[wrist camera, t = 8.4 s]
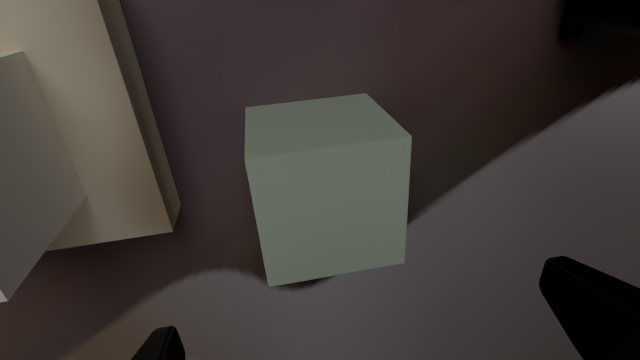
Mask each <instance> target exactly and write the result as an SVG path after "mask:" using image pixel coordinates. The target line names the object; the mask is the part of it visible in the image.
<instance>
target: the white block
mask: <svg viewBox="0 0 640 360" xmlns="http://www.w3.org/2000/svg"><path fill="white" fill-rule="evenodd" d="M86 196H87V195H86V193H85V190H84V188H83V186H82V184H81V181H80V179H79V177H78V175H77V172H76V170H75V168H74V166H73V163H72V161H71V159H70V157H69V154H68V152H67V150H66V148H65V145H64V143H63V141H62V139H61V136H60V134H59V132H58V130H57V127H56V125H55V123H54V120H53V118H52V116H51V114H50V111H49V109H48V107H47V105H46V102H45V100H44V98H43V96H42V93H41V91H40V89H39V87H38V84H37V82H36V80H35V78H34V75H33V73H32V71H31V69H30V66H29V64H28V62H27V60H26V57H25V55H24V53H23V51H14V52H4V53H0V302H5V301H8V300H9V299H10V298H11V296H12V295H13V294H14V292H15V291H16V290H17V288H18V287H19V286H20V284H21V283H22V282H23V280H24V279H25V278H26V276H27V275H28V274H29V272H30V271H31V270H32V268H33V267H34V266H35V264H36V263H37V262H38V260H39V259H40V258H41V256H42V255H43V254H44V252H45V251H46V250H47V248H48V247H49V246H50V244H51V243H52V242H53V240H54V239H55V238H56V236H57V235H58V234H59V232H60V231H61V230H62V228H63V227H64V226H65V224H66V223H67V222H68V220H69V219H70V218H71V216H72V215H73V214H74V212H75V211H76V210H77V208H78V207H79V206H80V204H81V203H82V202H83V200H84V199H85V198H86Z"/></svg>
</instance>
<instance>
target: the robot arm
mask: <svg viewBox="0 0 640 360" xmlns="http://www.w3.org/2000/svg"><path fill="white" fill-rule="evenodd" d="M576 26H577V30H576V32H575V33H574V34H573V30H574V28H575V27H576ZM639 36H640V0H567V4H566V8H565V13H564V17H563V21H562V26H561V30H560V37H561V39H562V40H563V41H564V42H569V43H584V42H594V41H603V40H612V39H621V38H630V37H639ZM539 286H540V290H541V292H542V294H543V296H544V297H545V299H546V301H547V302H548V304H549V306H550V307H551V309H552V311H553V312H554V314H555V316H556V317H557V319H558V321H559V322H560V324H561V325H562V327H563V329H564V330H565V332H566V334H567V335H568V337H569V339H570V340H571V342H572V343H573V345H574V346H575V348H576V350H577V351H578V352H579V354H580V355H581V356H582V358H583V359H584V360H640V288H638V287H635V286H633V285H630V284H628V283H626V282H624V281H621V280H619V279H617V278H615V277H612V276H610V275H608V274H605V273H603V272H601V271H598V270H596V269H594V268H592V267H589V266H587V265H585V264H582V263H580V262H578V261H575V260H573V259H570V258H568V257H565V256H560V257H553V258H549V259H547V260H546V262H545V264H544V268H543V271H542V274H541V278H540V281H539ZM131 360H185V351H184V347H183V344H182V342H181V339H180V337H179V334H178V331H177V329H176V328H175V327H174V326H168V327H163V328H158V329H155V330H154V331H153V332H152V333H151V335H150V336H149V337H148V339H147V340H146V341H145V343H144V344H143V345H142V346H141V347H140V349H139V350H138V351H137V353H136V354H135V355H134V357H133V358H132V359H131Z"/></svg>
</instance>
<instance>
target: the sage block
mask: <svg viewBox="0 0 640 360" xmlns="http://www.w3.org/2000/svg"><path fill="white" fill-rule="evenodd" d="M411 142H412V136H411V135H410V134H409V133H408V132H407V131H405V130H404V129H403V128H402V127H401V126H400V125H399V124H398V123H397V122H396V121H395V120H394V119H393V118H392V117H391V116H390V115H389V114H387V113H386V112H385V111H384V110H383V109H382V108H381V107H380V106H379V105H378V104H377V103H376V102H375V101H374V100H373V99H372V98H371V97H369V96H368V95H367V94H366V93H365V94H357V95H348V96H340V97H332V98H323V99H315V100H306V101H298V102H289V103H281V104H273V105H264V106H256V107H247V108H246V112H245V164H246V169H247V175H248V180H249V185H250V191H251V196H252V201H253V207H254V212H255V217H256V223H257V228H258V233H259V239H260V244H261V249H262V255H263V260H264V265H265V271H266V276H267V281H268V287H272V286H277V285H283V284H289V283H294V282H300V281H306V280H311V279H317V278H323V277H328V276H334V275H340V274H345V273H350V272H357V271H362V270H368V269H374V268H379V267H385V266H391V265H396V264H402V263H405V248H406V230H407V212H408V195H409V177H410V159H411Z"/></svg>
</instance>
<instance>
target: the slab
mask: <svg viewBox="0 0 640 360" xmlns="http://www.w3.org/2000/svg"><path fill="white" fill-rule="evenodd" d="M14 51H23V53H24V55H25V57H26V60H27V62H28V64H29V66H30V69H31V71H32V73H33V75H34V78H35V80H36V82H37V84H38V87H39V89H40V91H41V93H42V96H43V98H44V100H45V102H46V105H47V107H48V109H49V111H50V114H51V116H52V118H53V120H54V123H55V125H56V127H57V130H58V132H59V134H60V136H61V139H62V141H63V143H64V145H65V148H66V150H67V152H68V154H69V157H70V159H71V161H72V163H73V166H74V168H75V170H76V172H77V175H78V177H79V179H80V181H81V184H82V186H83V188H84V190H85V193H86V195H87V196H86V198H85V199H84V200H83V202H82V203H81V204H80V206H79V207H78V208H77V210H76V211H75V212H74V214H73V215H72V216H71V218H70V219H69V220H68V222H67V223H66V224H65V226H64V227H63V228H62V230H61V231H60V232H59V234H58V235H57V236H56V238H55V239H54V240H53V242H52V243H51V244H50V246H49V247H48V248H47V250H46V251H51V250H57V249H64V248H70V247H77V246H83V245H90V244H96V243H103V242H109V241H116V240H122V239H129V238H135V237H142V236H148V235H155V234H161V233H168V232H173V230H174V227H175V223H176V220H177V217H178V213H179V210H180V207H181V203H180V200H179V197H178V193H177V190H176V187H175V183H174V180H173V177H172V173H171V170H170V167H169V163H168V160H167V157H166V153H165V150H164V147H163V143H162V140H161V137H160V134H159V130H158V127H157V124H156V120H155V117H154V114H153V110H152V107H151V104H150V100H149V97H148V94H147V90H146V87H145V84H144V80H143V77H142V74H141V70H140V67H139V64H138V61H137V57H136V54H135V51H134V47H133V44H132V41H131V37H130V34H129V31H128V27H127V24H126V21H125V17H124V14H123V11H122V7H121V4H120V1H119V0H0V53H4V52H14Z"/></svg>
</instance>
